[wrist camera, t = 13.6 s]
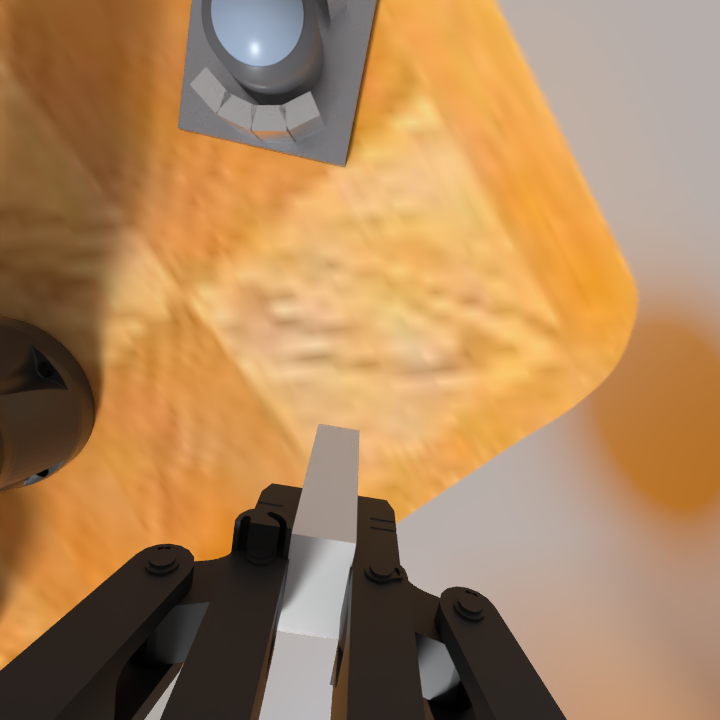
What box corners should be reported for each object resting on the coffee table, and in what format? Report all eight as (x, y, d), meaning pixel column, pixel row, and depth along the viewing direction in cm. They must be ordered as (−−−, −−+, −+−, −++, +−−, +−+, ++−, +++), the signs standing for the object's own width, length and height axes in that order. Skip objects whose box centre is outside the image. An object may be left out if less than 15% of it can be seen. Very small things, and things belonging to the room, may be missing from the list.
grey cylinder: (222, 94, 35) (192, 63, 29) (236, -12, 33) (207, -69, 27) (313, 115, 35) (303, 89, 29) (332, 11, 34) (325, -39, 28)
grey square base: (344, 167, 37) (341, 157, 33) (182, 130, 37) (156, 114, 32) (380, -20, 34) (383, -60, 29) (203, -64, 33) (178, -111, 29)
